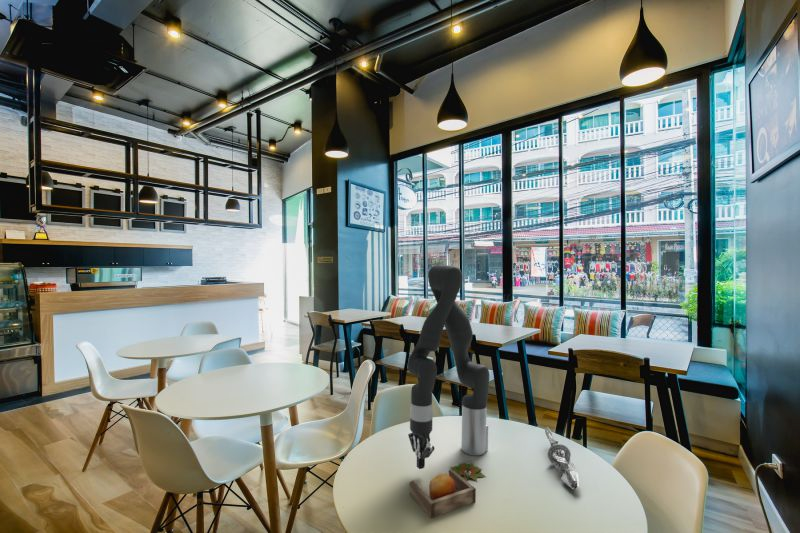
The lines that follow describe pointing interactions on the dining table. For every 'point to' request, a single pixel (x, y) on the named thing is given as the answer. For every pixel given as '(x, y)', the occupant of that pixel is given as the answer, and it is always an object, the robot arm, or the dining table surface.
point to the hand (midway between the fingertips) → (420, 467)
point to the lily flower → (468, 467)
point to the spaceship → (562, 461)
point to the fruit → (441, 486)
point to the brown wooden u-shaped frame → (445, 497)
